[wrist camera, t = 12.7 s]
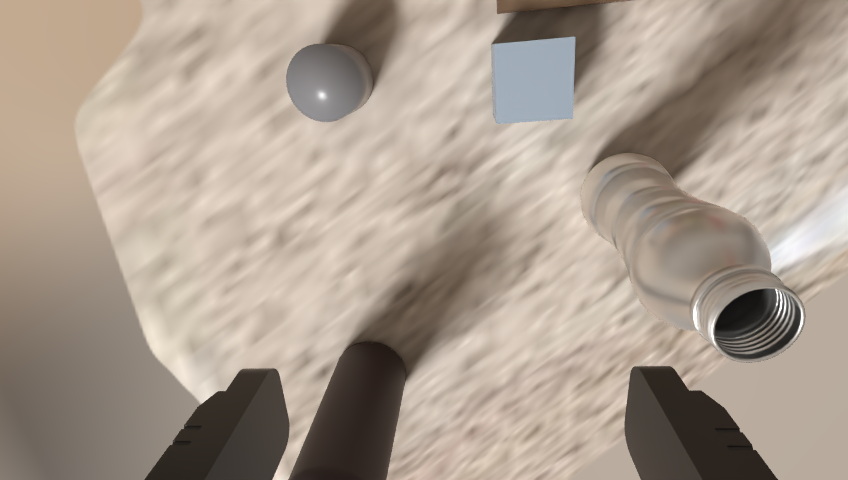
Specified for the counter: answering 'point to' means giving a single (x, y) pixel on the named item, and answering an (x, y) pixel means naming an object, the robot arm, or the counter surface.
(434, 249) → the counter surface
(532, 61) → the smoky blue cube
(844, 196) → the counter surface
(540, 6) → the walnut board
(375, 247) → the counter surface
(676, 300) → the plastic bottle
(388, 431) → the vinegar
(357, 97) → the grey rounded capsule
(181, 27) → the counter surface
